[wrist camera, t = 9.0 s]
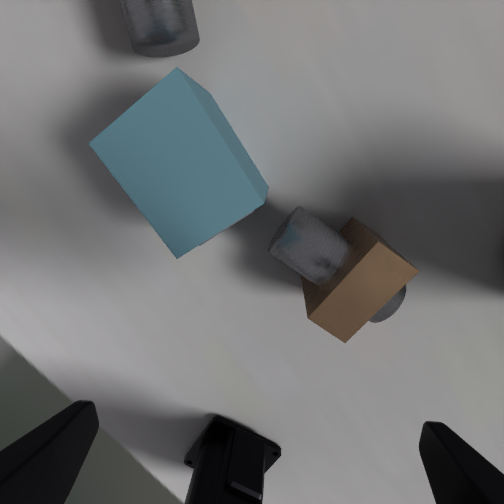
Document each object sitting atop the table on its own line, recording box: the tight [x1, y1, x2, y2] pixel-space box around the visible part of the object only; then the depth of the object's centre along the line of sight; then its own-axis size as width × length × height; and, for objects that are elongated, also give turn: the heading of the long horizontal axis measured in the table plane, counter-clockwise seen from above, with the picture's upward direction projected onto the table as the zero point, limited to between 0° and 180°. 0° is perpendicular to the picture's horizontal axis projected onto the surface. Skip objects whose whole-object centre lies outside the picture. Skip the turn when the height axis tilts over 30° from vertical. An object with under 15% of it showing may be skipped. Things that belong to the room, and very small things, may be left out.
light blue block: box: [88, 67, 269, 259], centre depth 14 cm, size 6×5×6 cm
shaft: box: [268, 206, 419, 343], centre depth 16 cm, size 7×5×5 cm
